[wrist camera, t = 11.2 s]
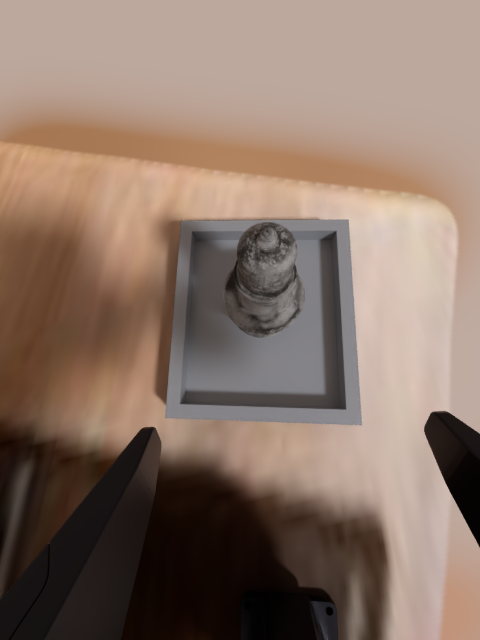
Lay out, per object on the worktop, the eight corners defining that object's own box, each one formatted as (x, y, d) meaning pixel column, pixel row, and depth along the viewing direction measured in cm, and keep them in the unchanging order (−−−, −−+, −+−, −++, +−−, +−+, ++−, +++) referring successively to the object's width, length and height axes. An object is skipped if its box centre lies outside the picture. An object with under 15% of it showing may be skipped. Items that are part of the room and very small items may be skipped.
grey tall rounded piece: (301, 338, 22) (354, 291, 10) (229, 344, 22) (200, 305, 10) (292, 270, 23) (330, 159, 12) (224, 277, 23) (193, 175, 12)
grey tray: (349, 420, 21) (361, 425, 19) (175, 413, 22) (165, 418, 20) (339, 235, 25) (348, 219, 22) (188, 235, 26) (181, 220, 23)
